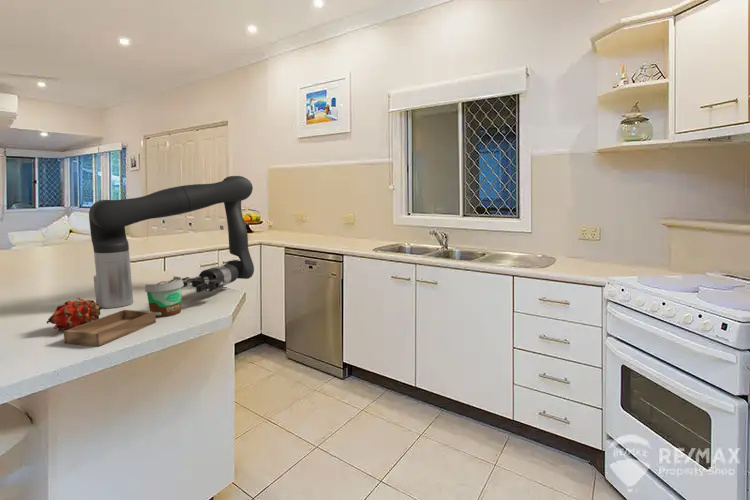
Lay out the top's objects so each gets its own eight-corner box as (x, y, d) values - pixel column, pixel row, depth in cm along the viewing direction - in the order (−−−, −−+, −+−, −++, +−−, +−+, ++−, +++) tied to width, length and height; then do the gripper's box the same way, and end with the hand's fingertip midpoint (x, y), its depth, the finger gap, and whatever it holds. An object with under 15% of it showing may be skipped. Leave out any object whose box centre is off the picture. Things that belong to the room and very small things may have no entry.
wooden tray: (64, 343, 94) (63, 331, 93) (125, 320, 111) (124, 309, 110) (99, 346, 92) (98, 334, 91) (155, 322, 109) (155, 311, 109)
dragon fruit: (107, 328, 109) (55, 347, 100) (93, 307, 112) (41, 323, 103) (108, 308, 104) (53, 326, 95) (93, 286, 107) (38, 302, 98)
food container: (166, 320, 111) (163, 285, 109) (146, 319, 112) (144, 284, 110) (194, 308, 123) (192, 276, 121) (176, 307, 124) (174, 276, 122)
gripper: (196, 266, 139) (163, 275, 123) (233, 268, 137) (204, 277, 121) (197, 287, 140) (165, 299, 124) (234, 289, 138) (206, 301, 122)
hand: (185, 288), depth 123 cm, fingers open, 8 cm apart
